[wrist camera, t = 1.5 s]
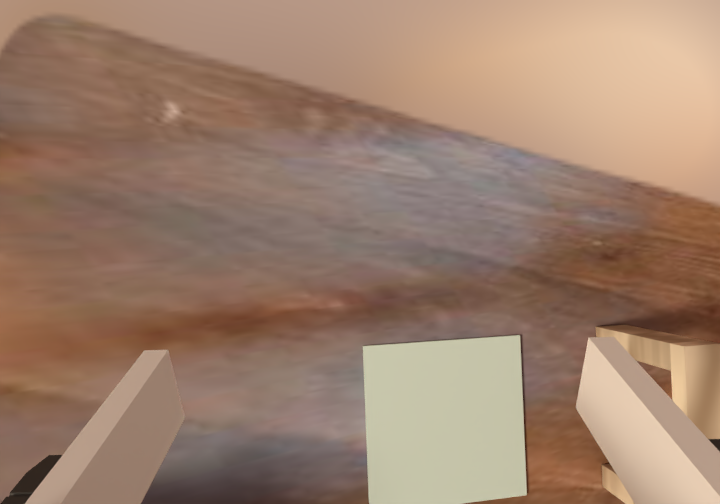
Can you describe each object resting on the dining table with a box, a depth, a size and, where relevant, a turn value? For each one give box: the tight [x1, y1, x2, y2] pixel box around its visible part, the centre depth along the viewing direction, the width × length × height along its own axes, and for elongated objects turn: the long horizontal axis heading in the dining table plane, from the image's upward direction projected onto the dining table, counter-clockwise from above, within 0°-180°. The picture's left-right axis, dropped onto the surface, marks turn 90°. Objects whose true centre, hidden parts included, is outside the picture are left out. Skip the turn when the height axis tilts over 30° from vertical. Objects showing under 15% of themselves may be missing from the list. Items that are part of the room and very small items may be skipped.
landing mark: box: [363, 335, 527, 504], centre depth 38 cm, size 14×14×1 cm
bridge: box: [596, 325, 720, 504], centre depth 36 cm, size 3×14×9 cm, turn 1°
